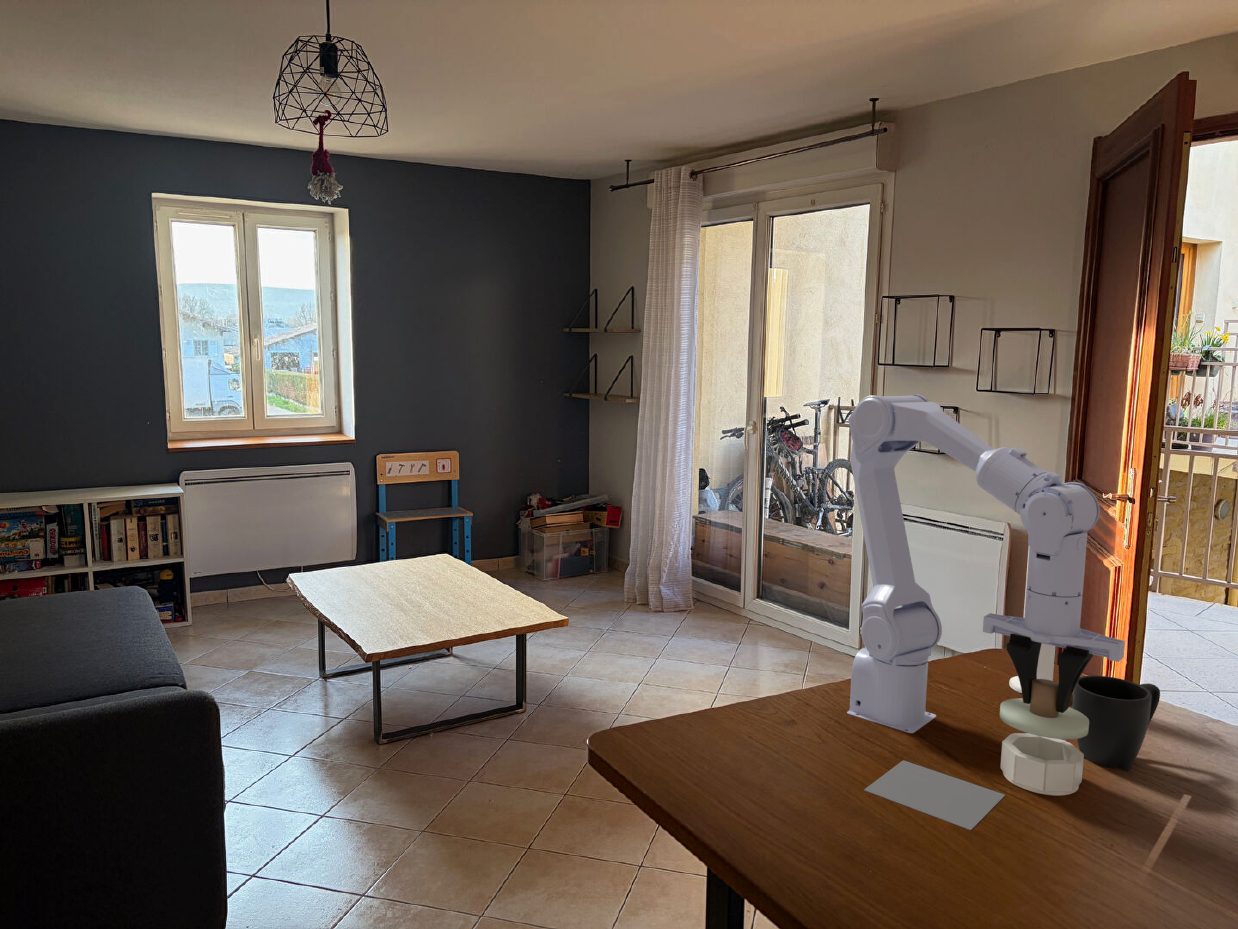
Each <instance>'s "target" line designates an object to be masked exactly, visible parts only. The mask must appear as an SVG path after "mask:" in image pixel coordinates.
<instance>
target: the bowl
mask: <svg viewBox="0 0 1238 929" xmlns="http://www.w3.org/2000/svg"><path fill="white" fill-rule="evenodd" d="M1084 760H1085V759H1084V755H1083V753H1082V752H1081V751H1080V750H1079V748H1077V747H1076V746H1074V745H1073V744H1072V743H1071V742H1068V741H1067V740H1065V739H1055V738H1047V737H1042V736H1037V735H1033V734H1030V733H1026V732H1021V733H1020V732H1017V733H1015V732H1013V733H1010V734H1009V735H1007V737H1006V738H1005V739H1004V740H1002V742H1001V755H1000V769H1001V770H1002V774H1003V776H1004V777H1005V778H1006V780H1007V781H1008V782H1010V783H1011V784H1013V785H1015V786H1017V787H1019V788H1021V789H1022V790H1023V789H1024V790H1027V791H1029V792H1033V793H1036V794H1040V795H1041V794H1042V795H1047V796H1066V795H1071V794H1073V793H1076V792H1077V791H1078V790H1079V788H1080V784H1081V783H1082V782H1083V771H1084V770H1083V769H1084Z"/></svg>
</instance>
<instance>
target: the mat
mask: <svg viewBox="0 0 1238 929" xmlns="http://www.w3.org/2000/svg"><path fill="white" fill-rule="evenodd" d="M863 791H864V792H866V793H870V794H872V795H875V796H878V797H881V798H883V799H886V800H889V801H891V802H894V803H896V804H899V805H902V806H905V807H907V808H910V809H913V810H915V811H917V812H920V813H923V814H926V815H928V816H931V817H934V818H936V819H939V820H942V821H944V822H948V823H950V824H953V825H955V826H958V827H961V828H963V829H966V830H968V831H972V830H974V828H975V827H976V826H977V825H978V824H979V822H981V821H982V820H983V819H984V818H985V817H986V816H987V815H988V814H989V813H990V812H991V811H992V810H993V809H994V807H995V806H997V804H999V803H1000V801H1002V799H1003V798H1005V797H1006V794H1004V793H1000V792H999V791H995V790H993V789H989V788H986V787H984V786H980V785H977V784H975V783H972V782H969V781H966V780H962V779H960V778H957V777H954V776H951V775H948V774H945V773H942V772H940V771H936V770H935V769H930V768H928V767H924V766H921V765H918V764H915V763H912V762H909V761H906V760H904V759H903V760H902V761H900V762H898V764H896V765H894V766H893V767H892V768H891V769H890V770H888V771H887V772H885V773H884V774H883V775H882V776H880V777H878V778H877V779H876V780H875V781H874V782H872V783H871V784H870V785H868V786H867V787H866V788H865V789H863Z"/></svg>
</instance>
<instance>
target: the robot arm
mask: <svg viewBox="0 0 1238 929" xmlns="http://www.w3.org/2000/svg"><path fill="white" fill-rule="evenodd" d="M848 424H849V429H850V436H851V442H852V443H851V452H850V453H851V454H850V467H851V472H852V477H853V482H854V487H855V493H856V494H855V495H856V499H857V505H858V510H859V516H860V520H861V526H862V533H863V538H864V543H865V549H866V555H867V559H868V565H869V571H870V576H871V577H870V578H871V581H872V586H873V587H872V589H871V591H870V592H869V593H868V595H867V596H866V598H865V600H864V601H862V604H861V611H862V622H861V626H860V627H861V628H860V633H861V634H860V636H861V639H862V643H863V646H864V647H863V648H861V649H860V650H859V651H858V652H857V653H856V655H855V657H854V658H853V659H854V660H853V663H852V667H851V675H850V692H849V693H850V697H849V710H848V711H847V712H846V713H847V714H848V715H851V716H855V717H858V718H861V719H864V720H866V721H869V722H873V723H877V724H880V725H883V726H886V727H888V728H889V727H890V728H892V729H896V730H899V731H901V732H905V733H908V734H914V733H915V732H917V731H918V730H920V729H921V728H922V727H924V726H926V725H927V724H928V723H929V722H931V721H932V720H934V719H935V718H937V715H936V714H935V713H932V712H928V711H926V707H927V706H926V704H927V685H928V670H929V658H930V656H932V648H934V647H935V646H936V645H938V643H939V642H940V640H941V637H942V632H943V627H942V622H941V618H940V617H939V615H938V613H937V612H936V610H935V609H934V607H933V604H932V598H931V595H930V593H929V592H928V591H926V589H924V588H923V587H921V585H919V584H918V583H917V582H916V580H915V574H914V566H913V563H912V558H911V552H910V548H909V547H910V546H909V542H908V537H907V530H906V526H905V520H904V516H903V515H904V514H903V510H902V503H901V498H900V494H899V490H898V488H899V487H898V484H897V478H896V473H895V468H896V466H897V464H898V463H899V462H900V460H901V459H902V458H903V457H904V455H905V454H907V453H908V452H909V451H910V450H912V449H913V448H914V447H915V446H917V445H918V444H920V443H921V442H926V443H928V444H929V445H931V446H932V447H934V448H936V449H938V450H939V451H941V452H942V453H944V454H946V455H948V456H949V457H951V458H953V459H954V460H956V461H957V462H960V463H961V464H962V465H963V466H965V467H968V469H971V470H972V471H974V472H975V477H976V478H975V479H976V483H977V485H978V486H979V488H981V489H982V490H984V491H985V492H986V493H988V494H990V495H991V496H992V497H994V498H995V499H997V500H998V501H999V502H1001V503H1003V504H1004V505H1005V506H1007V507H1008V508H1009V509H1011V510H1012V511H1014V512H1015V513H1017V514H1018V515H1019V516H1020V521H1021V523H1022V525H1023V526H1024V528H1025V530H1026V532H1027V535H1028V537H1027V538H1028V540H1027V541H1028V543H1027V546H1028V549H1029V560H1028V559H1027V562H1028V574H1027V573H1026V576H1027V587H1026V586H1025V590H1026V601H1025V600H1024V604H1025V615H1024V614H1023V617H1018V616H1011V615H1005V614H996V613H991V612H990V613H988V614H986V615H985V616H983V619H982V622H983V623H982V632H983V633H985V634H994V633H995V634H998V635H999V634H1000V635H1003V636H1007V637H1009V640H1008V641H1009V642H1007V643H1006V646H1005V648H1006V651H1007V654H1008V655H1009V657H1010V659H1011V661H1012V664H1013V666H1014V667H1015V671H1016V674H1017V676H1018V677H1019V681H1020V685H1021V690H1022V693H1021V694H1022V696H1021V697H1022V698H1023V703H1027V704H1030V700H1031V689H1032V680H1034V679H1037V666H1038V659H1039V654H1040V648H1041V644H1042V643H1043V644H1048V645H1053V646H1055V647H1056V648H1057V647H1058V648H1063V649H1065V650H1064V651H1061V653H1059V654H1057V665H1058V683H1059V688H1058V695H1057V703H1056V711H1057V712H1060V713H1064V712H1065V711H1066V710H1067V709H1068V707H1069V706H1070V702H1071V699H1072V697H1073V690H1074V688H1075V686H1076V684H1077V681H1078V679H1079V678H1080V677H1082V674H1083V672H1084V670H1085V669H1086V668H1087V665H1088V664H1090V663H1089V662H1091V660H1092V658H1093V656H1094V655H1095V656H1099V657H1103V658H1107V659H1108V661H1113V662H1118V663H1119V662H1120V661H1122V660H1123V658H1124V655H1125V643H1126V641H1125V640H1123V639H1117V638H1114V637H1110V636H1107V635H1103V634H1100V633H1097V632H1094V631H1091V630H1087V629H1083V628H1081V619H1082V618H1081V617H1082V607H1083V596H1084V583H1085V582H1084V581H1085V571H1086V568H1085V567H1086V559H1087V558H1086V556H1087V544H1088V543H1087V542H1088V531H1090V530H1091V529H1093V528H1094V527H1095V526H1096V524H1097V523H1098V520H1099V518H1100V511H1101V509H1100V503H1099V501H1098V498H1097V497H1096V495H1095V494H1094V493H1093V492H1092V491H1091V490H1090V489H1089V488H1087V486H1086V485H1085V484H1083V483H1081V482H1076V481H1071V482H1062V480H1061V475H1060V474H1058V473H1056V472H1055V471H1047V470H1046V469H1043V468H1042V467H1040V466H1039V465H1038V464H1036V463H1034V462H1033V461H1031V460H1030V459H1028V458H1027V455H1028V453H1027V451H1026V450H1023V449H1022V448H1020V447H1015V448H1011V447H1010V446H1009V447H1008V446H1003V447H999V448H995V449H994V448H993V447H992V446H990V445H989V444H987V442H985V441H983V439H981V438H979V437H978V436H977V435H975V434H974V433H973V432H971V431H970V430H969V429H967V428H966V427H964V425H962V424H961V423H960V422H958V421H957V420H955V419H954V418H952V417H951V416H950V415H949V414H947V413H945V412H944V411H943V410H942V407H941V405H940V404H938V403H936V402H934V401H930V400H929V399H928V398H927V397H925V396H923V395H922V394H917V393H913V394H907V395H884V396H883V395H881V396H879V395H868V396H865V397H863V398H862V399H861V400H859V402H858V403H857V405H856V406H855V408H854V410H853V411H852V412H851V414H850V415H849V417H848Z"/></svg>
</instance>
